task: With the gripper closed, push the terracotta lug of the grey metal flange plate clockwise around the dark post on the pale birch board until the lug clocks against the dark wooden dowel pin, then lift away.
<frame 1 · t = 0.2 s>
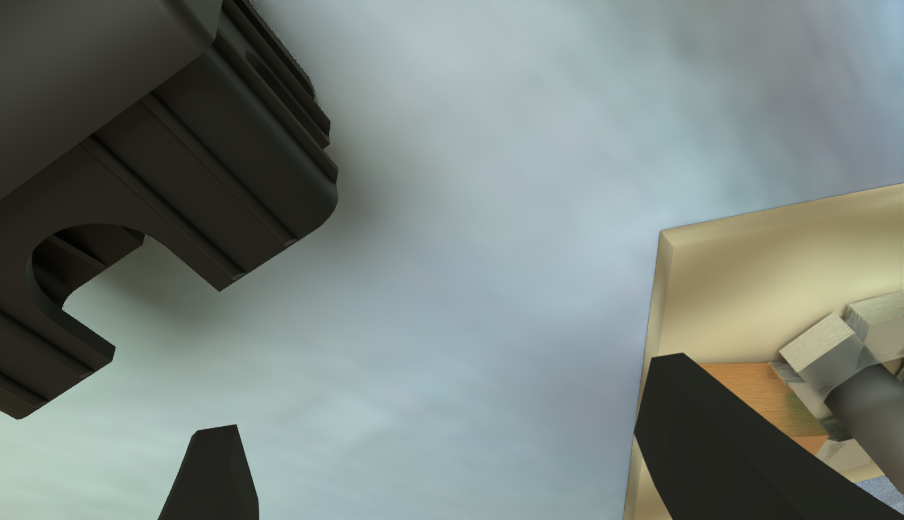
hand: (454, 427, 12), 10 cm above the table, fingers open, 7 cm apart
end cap: (89, 80, 17), on the table
board: (830, 359, 30), on the table
flange: (837, 415, 27), point 3 cm above the table, hinge at 0.0°
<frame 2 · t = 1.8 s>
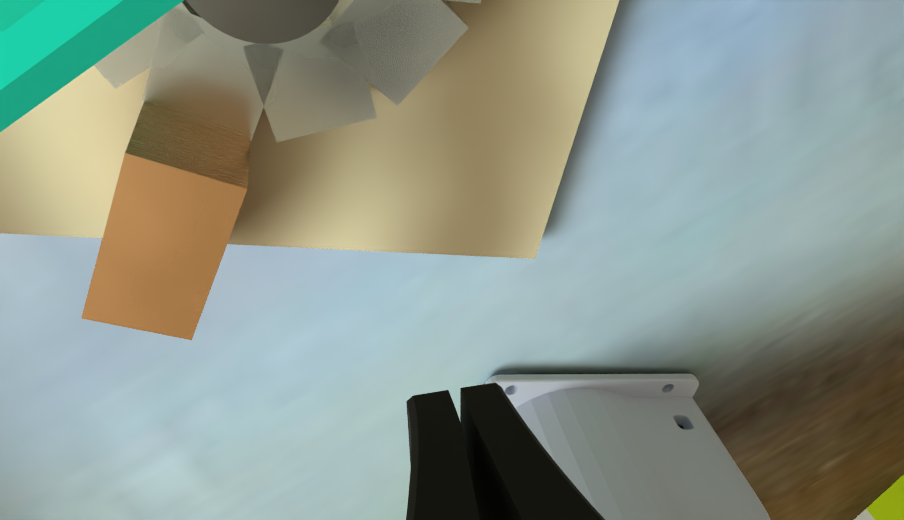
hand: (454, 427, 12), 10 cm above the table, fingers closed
flange: (229, 26, 14), point 3 cm above the table, hinge at 0.0°
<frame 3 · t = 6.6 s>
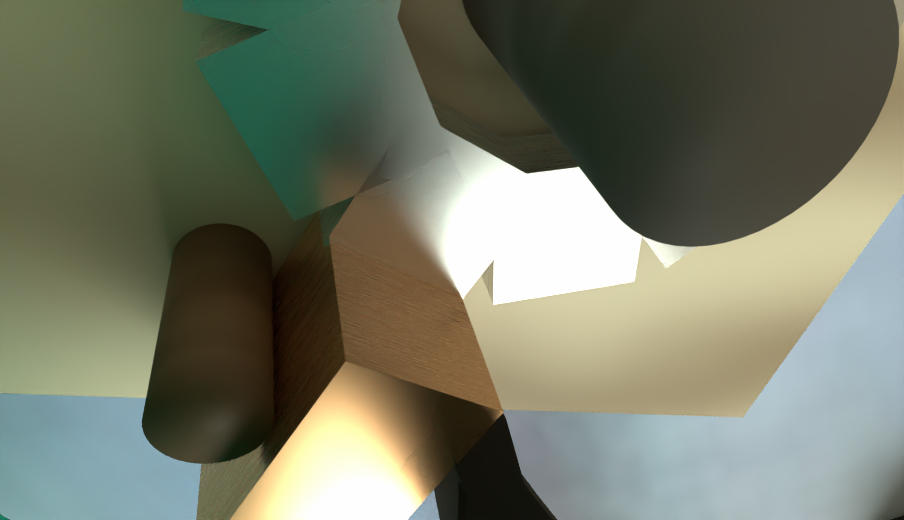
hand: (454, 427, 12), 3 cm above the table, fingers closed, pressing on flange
flange: (508, 158, 9), point 3 cm above the table, hinge at -93.5°, touching dowel, gripper
dowel: (225, 231, 12), resting on board
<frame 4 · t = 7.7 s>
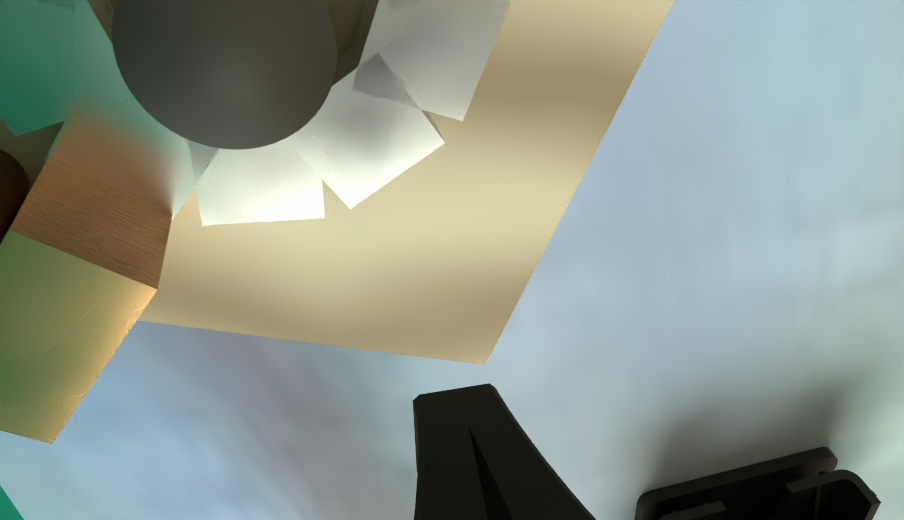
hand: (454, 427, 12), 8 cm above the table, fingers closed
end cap: (720, 510, 32), on the table
flange: (172, 97, 12), point 3 cm above the table, hinge at -93.4°
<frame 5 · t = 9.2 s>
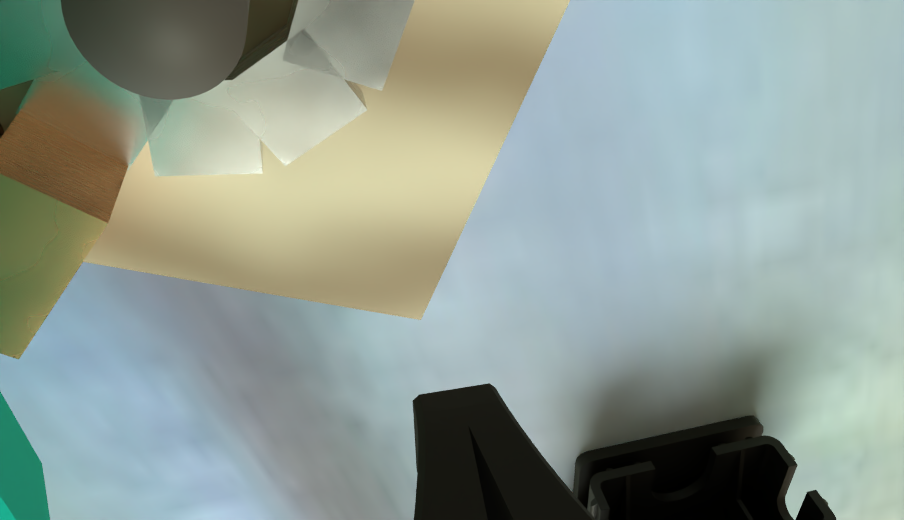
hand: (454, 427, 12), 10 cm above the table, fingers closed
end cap: (657, 474, 34), on the table
flange: (124, 61, 14), point 3 cm above the table, hinge at -93.4°
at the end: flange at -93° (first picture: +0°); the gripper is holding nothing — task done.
